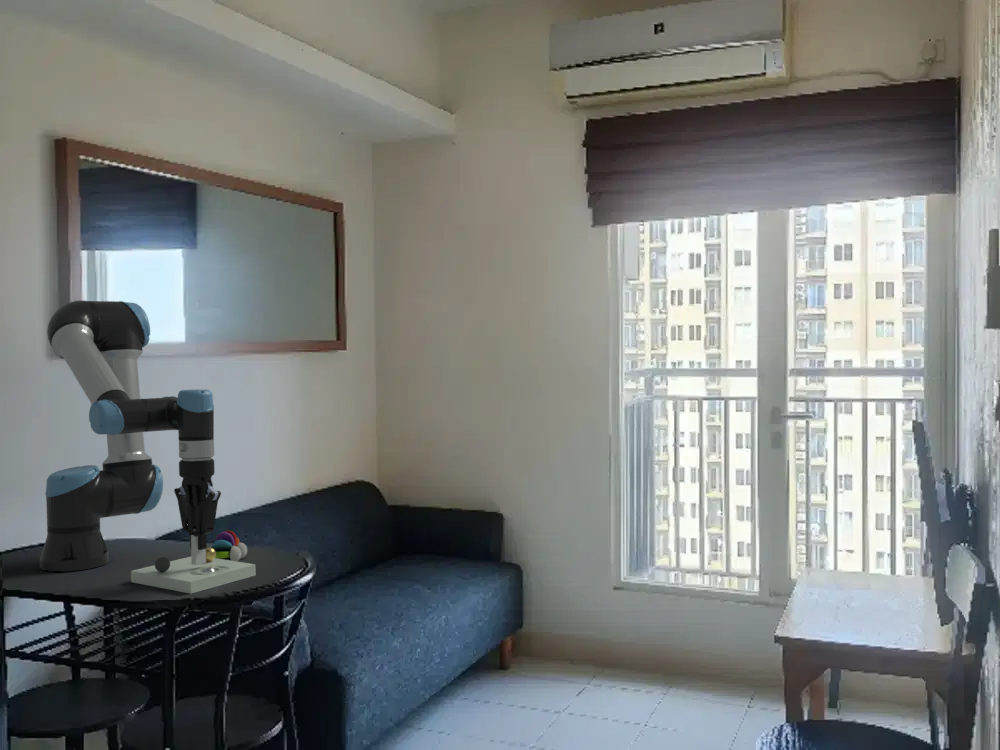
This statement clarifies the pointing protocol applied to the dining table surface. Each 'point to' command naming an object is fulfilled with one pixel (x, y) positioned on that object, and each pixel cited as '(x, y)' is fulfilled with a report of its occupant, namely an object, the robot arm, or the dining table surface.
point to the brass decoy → (210, 554)
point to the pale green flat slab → (193, 575)
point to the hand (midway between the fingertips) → (198, 563)
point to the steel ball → (208, 570)
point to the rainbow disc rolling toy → (229, 546)
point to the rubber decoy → (162, 564)
